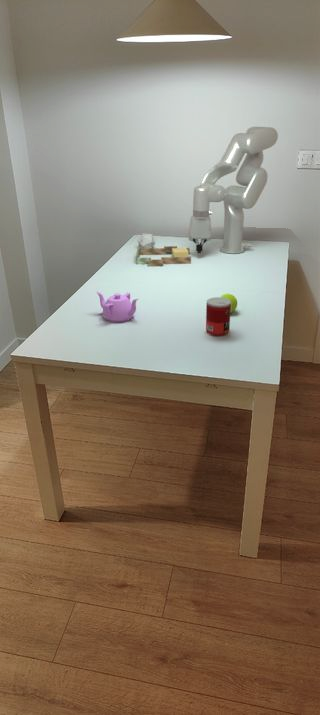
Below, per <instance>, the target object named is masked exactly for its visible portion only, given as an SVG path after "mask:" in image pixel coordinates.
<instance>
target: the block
mask: <svg viewBox="0 0 320 715" xmlns="http://www.w3.org/2000/svg"><path fill="white" fill-rule="evenodd" d="M186 248H187V247H177V248H172V254H171V257H189V254H188V250H187V249H186Z"/></svg>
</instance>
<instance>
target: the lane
mask: <svg viewBox="0 0 320 715" xmlns="http://www.w3.org/2000/svg"><path fill="white" fill-rule="evenodd" d="M172 248H178V246H177V245H176V246H175V245H174V246H173V245H169V246H168V245H167V246H166V245H165V246H163V248H162V247H161V248H160V247H159V248H156V247H155V248H153V247H152V248H148V249H141V248H140V246H137V249H136V254H135V264H136V265H148V267H164V265H181V264H183V265H185V264H192V257H191V256H188V257H172V256H170V257H169V256H168V257H167V256H166V257H165V255H172ZM185 248H186V249H187V250H188V255H190V254H191V252H190V250H191V249H190V247H185ZM154 255H155V256H156V255H160V256H161V255H163V256H164V257H163V256H162V257H161V258H160V259H152V257H140V256H154Z"/></svg>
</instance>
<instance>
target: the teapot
mask: <svg viewBox="0 0 320 715" xmlns="http://www.w3.org/2000/svg"><path fill="white" fill-rule="evenodd" d="M95 293H96V294H97V295H98V296H99V297H98V298H99V302H100V307H101V309H102V316H103V317H104V319H105V320H107V321H109V322H111V323H122V322H123V323H124V322H128V321H130V320H131V319H132V318H133V316H134V315H135V313H136V311H137V301H138V300H139V298H135V299H133V300H132V301H131V293H130V292H126V293H125V294H121V293H114V294H113V295H110V296H109V297H108V298H107V300H105V298H104V296H103V294H102V292H99V291H95Z"/></svg>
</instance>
